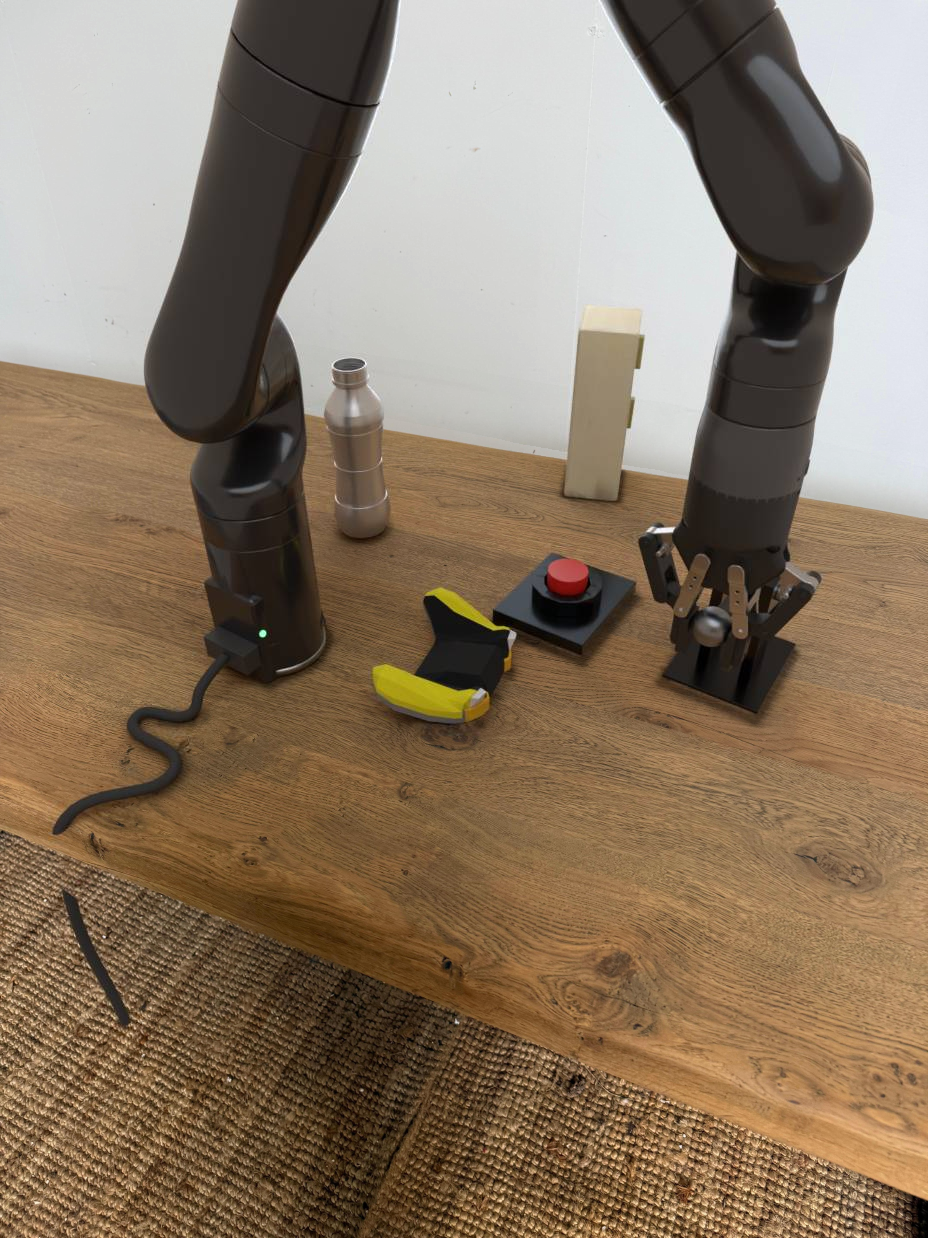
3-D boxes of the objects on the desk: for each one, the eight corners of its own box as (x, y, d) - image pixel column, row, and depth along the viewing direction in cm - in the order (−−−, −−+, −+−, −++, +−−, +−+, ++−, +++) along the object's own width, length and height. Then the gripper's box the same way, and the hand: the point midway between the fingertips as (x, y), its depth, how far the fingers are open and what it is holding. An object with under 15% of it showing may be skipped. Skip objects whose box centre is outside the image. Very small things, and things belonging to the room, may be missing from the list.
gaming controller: (365, 721, 77) (470, 752, 74) (360, 675, 73) (470, 706, 70) (432, 622, 87) (526, 645, 85) (431, 578, 84) (528, 600, 81)
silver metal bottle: (326, 538, 99) (304, 372, 87) (353, 509, 104) (337, 348, 92) (376, 550, 97) (361, 381, 85) (401, 520, 102) (391, 356, 90)
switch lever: (719, 659, 67) (730, 624, 65) (681, 644, 68) (690, 609, 67) (766, 599, 77) (776, 567, 75) (732, 587, 78) (741, 555, 76)
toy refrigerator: (623, 503, 105) (645, 333, 92) (563, 497, 106) (576, 328, 93) (627, 471, 111) (648, 307, 98) (570, 466, 112) (583, 303, 99)
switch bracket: (755, 721, 76) (785, 617, 69) (660, 683, 80) (679, 581, 73) (793, 652, 83) (824, 551, 76) (704, 620, 87) (725, 521, 80)
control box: (580, 662, 82) (584, 630, 80) (492, 626, 87) (492, 595, 84) (634, 598, 90) (638, 567, 88) (550, 568, 95) (552, 537, 92)
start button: (575, 601, 84) (576, 586, 83) (539, 587, 86) (540, 573, 85) (594, 580, 87) (595, 566, 86) (559, 568, 88) (560, 553, 87)
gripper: (629, 462, 60) (606, 650, 71) (837, 521, 54) (777, 717, 64) (672, 421, 65) (644, 603, 75) (867, 471, 58) (807, 661, 69)
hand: (706, 655), depth 70 cm, fingers closed on switch lever, 3 cm apart
